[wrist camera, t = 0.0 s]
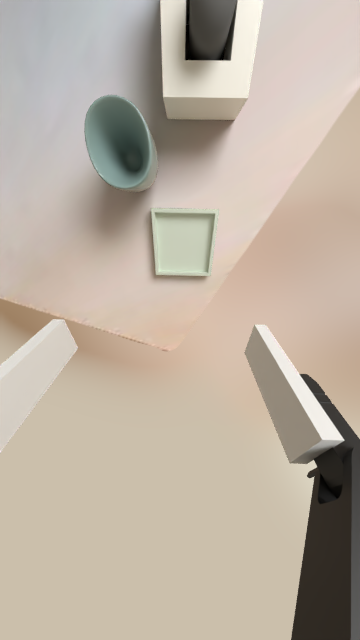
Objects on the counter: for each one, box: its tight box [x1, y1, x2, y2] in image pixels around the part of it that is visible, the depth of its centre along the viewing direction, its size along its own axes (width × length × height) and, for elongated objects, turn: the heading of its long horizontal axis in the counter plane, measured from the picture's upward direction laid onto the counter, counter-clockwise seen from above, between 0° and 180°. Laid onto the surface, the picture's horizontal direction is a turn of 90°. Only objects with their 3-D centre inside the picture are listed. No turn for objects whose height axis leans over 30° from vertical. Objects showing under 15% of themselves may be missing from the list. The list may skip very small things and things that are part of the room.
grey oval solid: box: [189, 0, 237, 61], centre depth 16 cm, size 4×4×6 cm
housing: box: [160, 0, 264, 120], centre depth 18 cm, size 10×10×6 cm
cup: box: [84, 95, 158, 192], centre depth 23 cm, size 8×8×10 cm
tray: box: [151, 208, 219, 276], centre depth 33 cm, size 12×12×2 cm
